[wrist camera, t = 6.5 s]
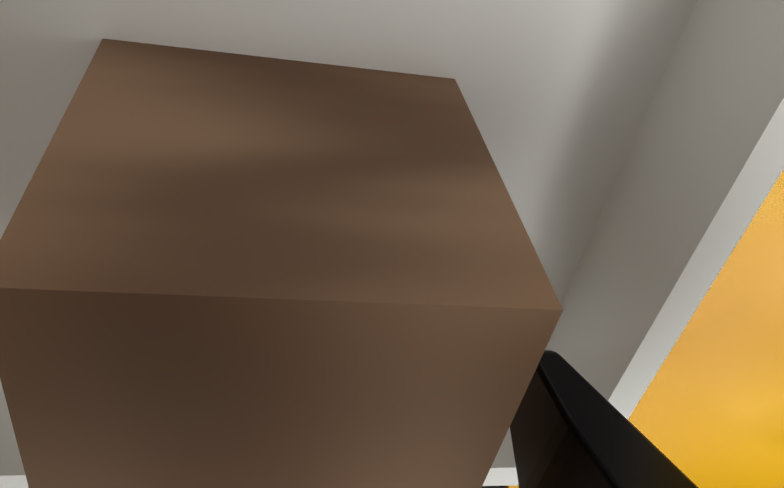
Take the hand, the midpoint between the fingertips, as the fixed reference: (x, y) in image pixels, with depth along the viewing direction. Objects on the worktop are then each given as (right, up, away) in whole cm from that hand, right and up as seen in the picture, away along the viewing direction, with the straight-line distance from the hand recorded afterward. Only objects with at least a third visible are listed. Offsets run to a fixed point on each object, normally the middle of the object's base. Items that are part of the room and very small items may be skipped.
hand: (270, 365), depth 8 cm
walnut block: (0, +2, +3) cm, 4 cm away
